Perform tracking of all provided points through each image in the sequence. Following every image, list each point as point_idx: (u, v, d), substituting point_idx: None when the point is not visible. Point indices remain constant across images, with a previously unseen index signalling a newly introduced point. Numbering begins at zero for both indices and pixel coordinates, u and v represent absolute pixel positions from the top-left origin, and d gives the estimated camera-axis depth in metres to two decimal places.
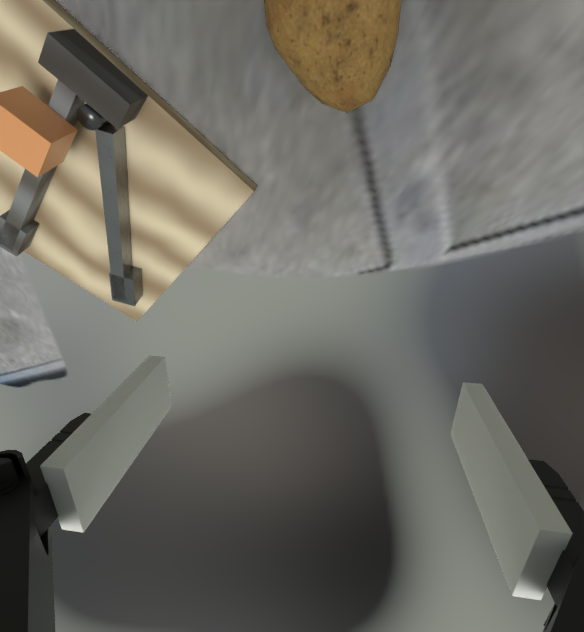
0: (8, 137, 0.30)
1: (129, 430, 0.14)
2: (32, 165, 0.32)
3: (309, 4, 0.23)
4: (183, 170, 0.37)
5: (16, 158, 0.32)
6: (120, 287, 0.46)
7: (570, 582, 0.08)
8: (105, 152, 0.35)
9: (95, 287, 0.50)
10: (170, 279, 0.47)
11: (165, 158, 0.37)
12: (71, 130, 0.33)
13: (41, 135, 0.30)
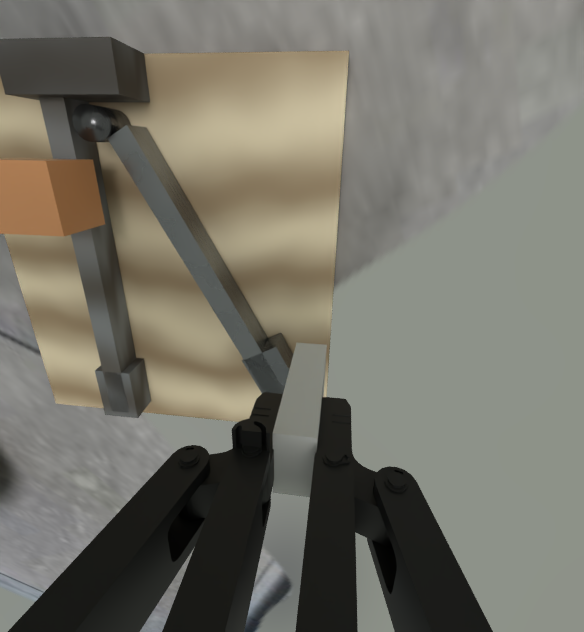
0: (8, 201, 0.20)
1: None
2: (49, 221, 0.21)
3: None
4: (240, 119, 0.23)
5: (31, 228, 0.21)
6: (267, 374, 0.28)
7: (311, 485, 0.10)
8: (135, 162, 0.23)
9: (245, 408, 0.33)
10: (326, 320, 0.28)
11: (211, 124, 0.24)
12: (82, 159, 0.22)
13: (32, 160, 0.20)
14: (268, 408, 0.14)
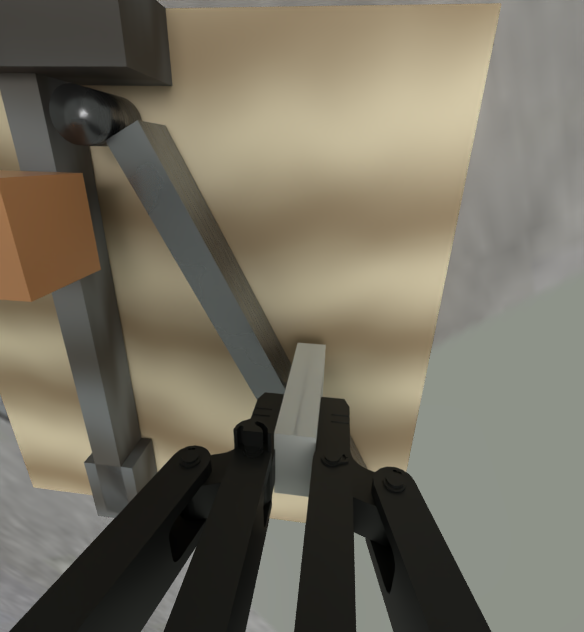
0: None
1: None
2: (7, 278, 0.12)
3: None
4: (312, 114, 0.15)
5: None
6: None
7: (310, 485, 0.10)
8: (148, 179, 0.14)
9: (288, 504, 0.24)
10: (413, 400, 0.20)
11: (265, 121, 0.15)
12: (66, 173, 0.14)
13: None
14: (269, 408, 0.14)
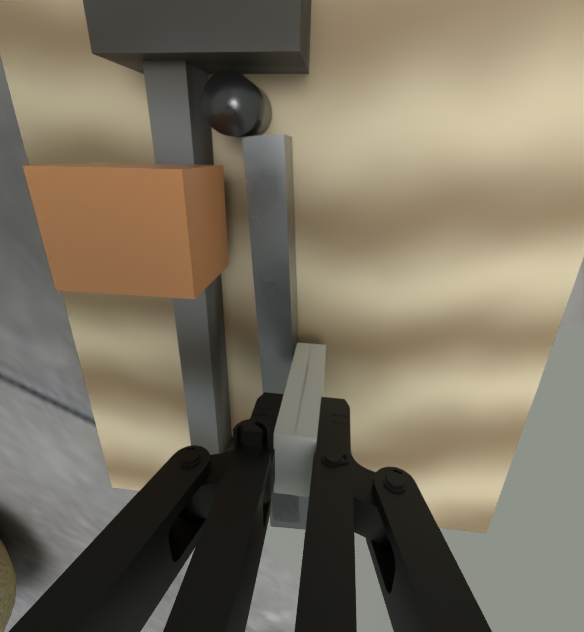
0: (101, 240, 0.12)
1: None
2: (172, 274, 0.12)
3: None
4: (457, 101, 0.14)
5: (137, 285, 0.12)
6: (289, 497, 0.21)
7: (310, 485, 0.10)
8: (265, 189, 0.14)
9: None
10: (525, 397, 0.19)
11: (405, 109, 0.15)
12: (212, 165, 0.13)
13: (155, 168, 0.11)
14: (269, 408, 0.14)
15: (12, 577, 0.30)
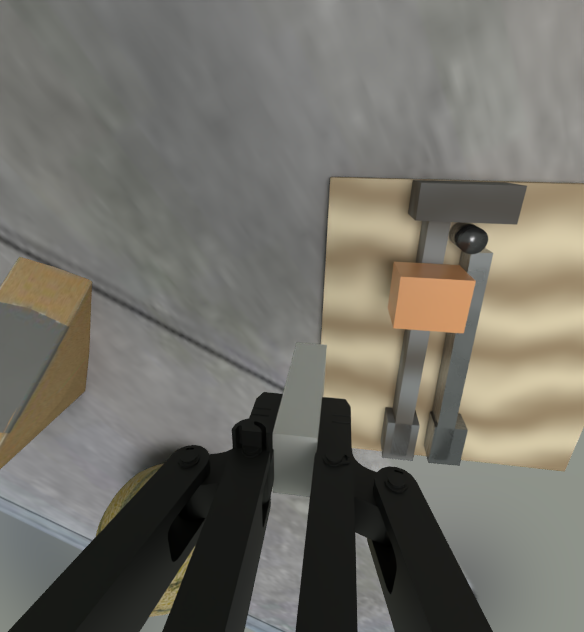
0: (426, 307, 0.26)
1: None
2: (456, 322, 0.26)
3: None
4: (574, 232, 0.29)
5: (437, 326, 0.27)
6: (445, 443, 0.36)
7: (311, 485, 0.10)
8: (476, 276, 0.29)
9: (496, 452, 0.38)
10: None
11: (546, 234, 0.29)
12: (459, 267, 0.28)
13: (461, 279, 0.25)
14: (268, 408, 0.14)
15: None
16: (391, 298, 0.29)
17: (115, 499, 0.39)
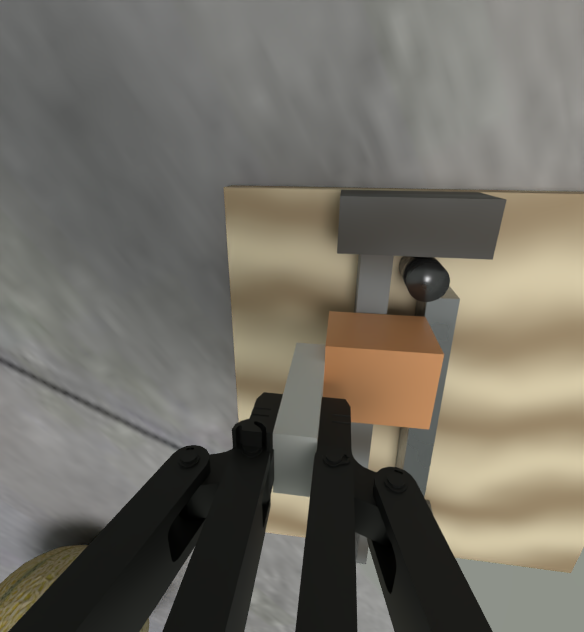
0: (369, 391, 0.17)
1: None
2: (417, 414, 0.17)
3: None
4: (581, 264, 0.19)
5: (387, 419, 0.17)
6: None
7: (311, 485, 0.10)
8: (437, 332, 0.19)
9: (479, 547, 0.29)
10: None
11: (540, 268, 0.20)
12: (424, 322, 0.18)
13: (422, 351, 0.16)
14: (268, 408, 0.14)
15: None
16: None
17: None
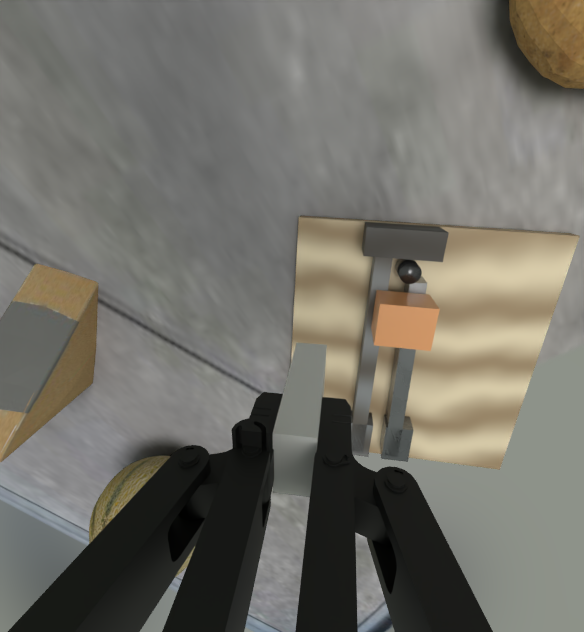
0: (400, 329, 0.32)
1: None
2: (424, 342, 0.32)
3: None
4: (494, 268, 0.35)
5: (409, 345, 0.33)
6: (395, 441, 0.42)
7: (311, 485, 0.10)
8: None
9: (441, 451, 0.44)
10: (521, 393, 0.40)
11: (472, 269, 0.36)
12: (429, 296, 0.34)
13: (428, 307, 0.31)
14: (268, 408, 0.14)
15: None
16: (373, 320, 0.35)
17: (109, 485, 0.45)
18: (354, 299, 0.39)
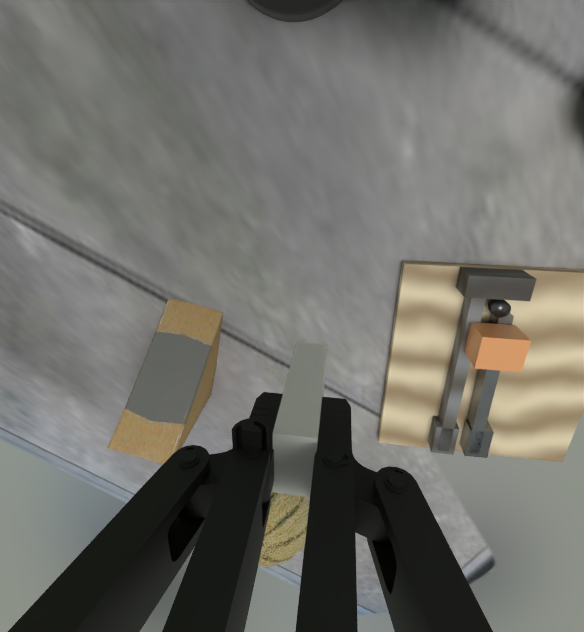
0: (497, 356, 0.40)
1: None
2: (517, 365, 0.41)
3: None
4: (566, 301, 0.44)
5: (504, 367, 0.41)
6: (477, 441, 0.50)
7: (311, 485, 0.10)
8: None
9: (512, 448, 0.53)
10: None
11: (548, 302, 0.44)
12: (516, 327, 0.42)
13: (522, 339, 0.40)
14: (268, 408, 0.14)
15: None
16: (469, 346, 0.43)
17: None
18: (446, 327, 0.47)
